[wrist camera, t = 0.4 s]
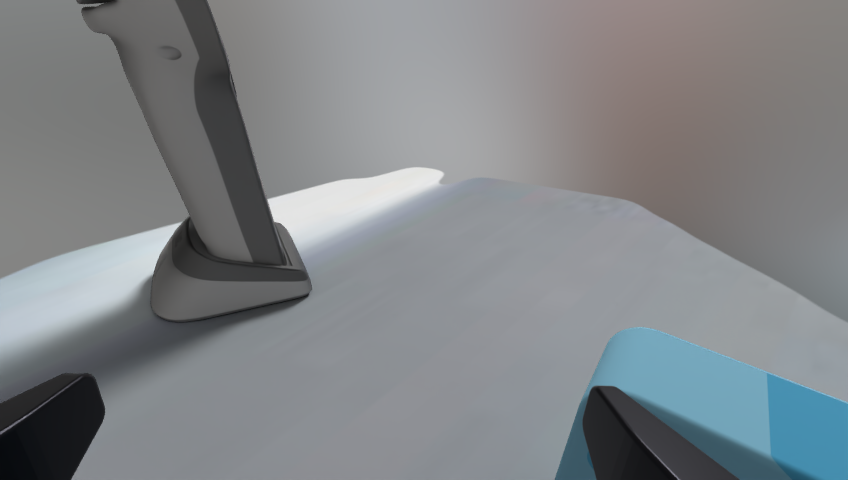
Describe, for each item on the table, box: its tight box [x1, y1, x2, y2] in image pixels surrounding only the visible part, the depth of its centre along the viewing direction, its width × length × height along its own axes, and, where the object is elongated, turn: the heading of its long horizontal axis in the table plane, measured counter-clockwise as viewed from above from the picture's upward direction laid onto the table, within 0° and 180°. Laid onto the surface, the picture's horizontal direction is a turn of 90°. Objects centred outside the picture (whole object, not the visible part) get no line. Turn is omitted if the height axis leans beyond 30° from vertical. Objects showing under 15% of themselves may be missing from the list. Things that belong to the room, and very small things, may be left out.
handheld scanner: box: [77, 0, 312, 322], centre depth 31 cm, size 12×13×35 cm
